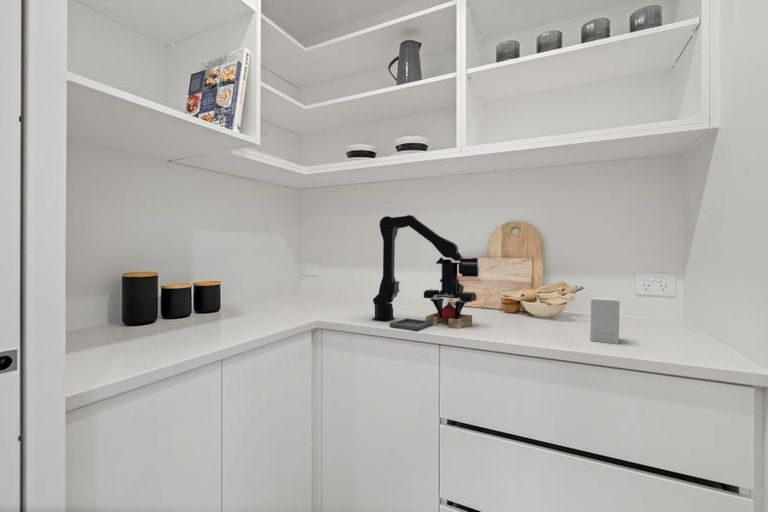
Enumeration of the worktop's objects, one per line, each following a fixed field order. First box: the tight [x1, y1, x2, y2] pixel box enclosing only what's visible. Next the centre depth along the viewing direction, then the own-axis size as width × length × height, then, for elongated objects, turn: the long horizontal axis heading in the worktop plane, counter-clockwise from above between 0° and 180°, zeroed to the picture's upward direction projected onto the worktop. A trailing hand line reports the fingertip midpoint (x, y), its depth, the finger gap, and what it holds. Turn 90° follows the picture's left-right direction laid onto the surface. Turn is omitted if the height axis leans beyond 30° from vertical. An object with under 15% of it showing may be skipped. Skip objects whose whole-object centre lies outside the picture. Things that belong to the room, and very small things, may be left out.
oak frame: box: [425, 312, 473, 330], centre depth 134 cm, size 13×12×3 cm
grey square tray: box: [389, 317, 434, 332], centre depth 129 cm, size 11×11×2 cm
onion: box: [441, 301, 456, 325], centre depth 134 cm, size 6×6×8 cm
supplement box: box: [589, 296, 620, 345], centre depth 110 cm, size 7×7×13 cm
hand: (449, 318), depth 134 cm, fingers closed on onion, 6 cm apart
